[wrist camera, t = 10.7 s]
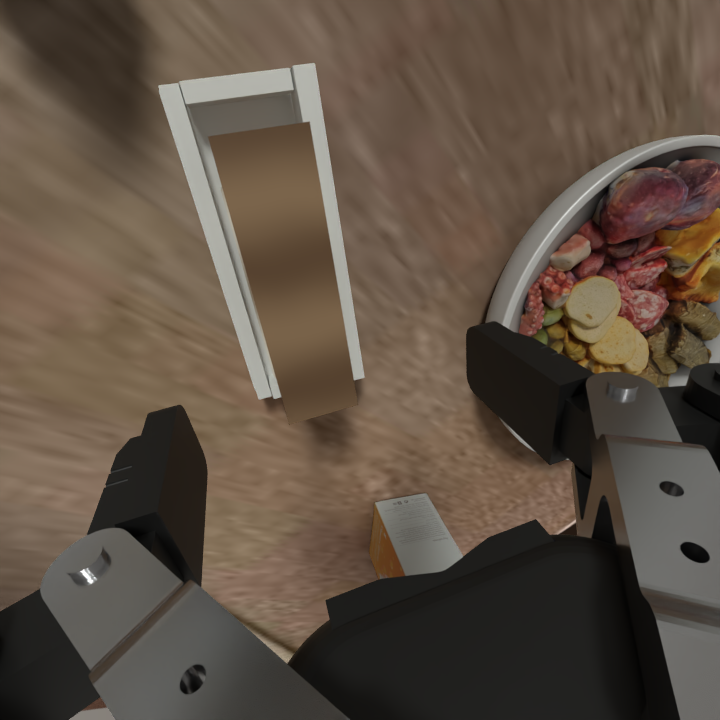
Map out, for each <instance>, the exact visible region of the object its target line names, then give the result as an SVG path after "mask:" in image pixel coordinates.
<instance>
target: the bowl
mask: <svg viewBox="0 0 720 720" xmlns="http://www.w3.org/2000/svg"><path fill="white" fill-rule="evenodd" d="M491 321H496V322H498V323H500V324H501V325H503V326H505V327H506V328H508V329H510V330H511V331H513V332H516V333H520V334H523V335H527V336H530V337H533V338H535V339H537V340H538V341H540V342H542V343H544V344H545V345H547V347H550V348H552V349H554V350H556V351H557V352H558V354H560V353H561V354H562V355H564V356H566V357H568V358H569V359H571V360H573V361H574V362H576V363H578V364H580V365H581V366H583V367H585V368H586V369H588V370H590V371H592V372H593V373H595V374H597V373H602V372H623V373H629V374H633V375H636V376H639V377H642V378H644V379H646V380H648V381H650V382H651V383H653V384H654V385H655V386H656V387H657V388H660V387H673V386H686V383H687V380H688V377H689V374H690V370H691V369H692V368H693V367H695V366H697V365H701V364H706V363H720V136H716V135H694V136H680V137H673V138H667V139H662V140H658V141H654V142H651V143H647V144H644V145H641V146H638V147H636V148H633V149H631V150H628V151H626V152H624V153H622V154H620V155H617V156H615V157H613V158H611V159H610V160H608V161H606V162H604V163H603V164H601V165H599V166H598V167H596V168H594V169H593V170H591V171H590V172H588V173H587V174H585V175H584V176H583V177H581V178H580V179H579V180H577V181H576V182H575V183H574V184H572V185H571V186H570V187H569V188H568V189H566V190H565V191H564V192H563V193H562V194H561V195H560V196H559V197H557V198H556V199H555V200H554V201H553V202H552V203H551V204H550V205H549V206H548V207H547V208H546V210H545V211H544V212H543V213H542V214H541V215H540V216H539V217H538V219H537V220H536V221H535V222H534V224H533V225H532V226H531V227H530V228H529V230H528V231H527V233H526V234H525V235H524V237H523V238H522V239H521V241H520V242H519V244H518V246H517V247H516V249H515V250H514V252H513V254H512V255H511V257H510V259H509V260H508V262H507V264H506V266H505V268H504V270H503V272H502V274H501V276H500V278H499V281H498V283H497V286H496V288H495V291H494V293H493V296H492V299H491V302H490V306H489V309H488V313H487V317H486V321H485V323H488V322H491ZM499 418H500V417H499ZM500 420H501V421H502V423H503V424H504V425H505V426H506V428H507V429H508V430H509V431H510V432H511V433H512V434H513V435H514V436H515V437H516V438H517V439H518V440H519V441H520V442H521V443H522V444H524V445H525V446H526V447H528V448H529V449H531V450H533V449H532V448H531V447H530V446H529V445H528V444H527V443H526V442H525V441H524V440H523V439H522V438H521V437H520V436H518V435H517V434H516V433H515V432H514V431H513V430H512V429H511V428H510V427H509V426H508V425H507V424H506V423H505V422H504V421H503V420H502V419H501V418H500ZM533 451H534V450H533ZM534 452H535V451H534ZM566 460H569V459H566Z"/></svg>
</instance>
